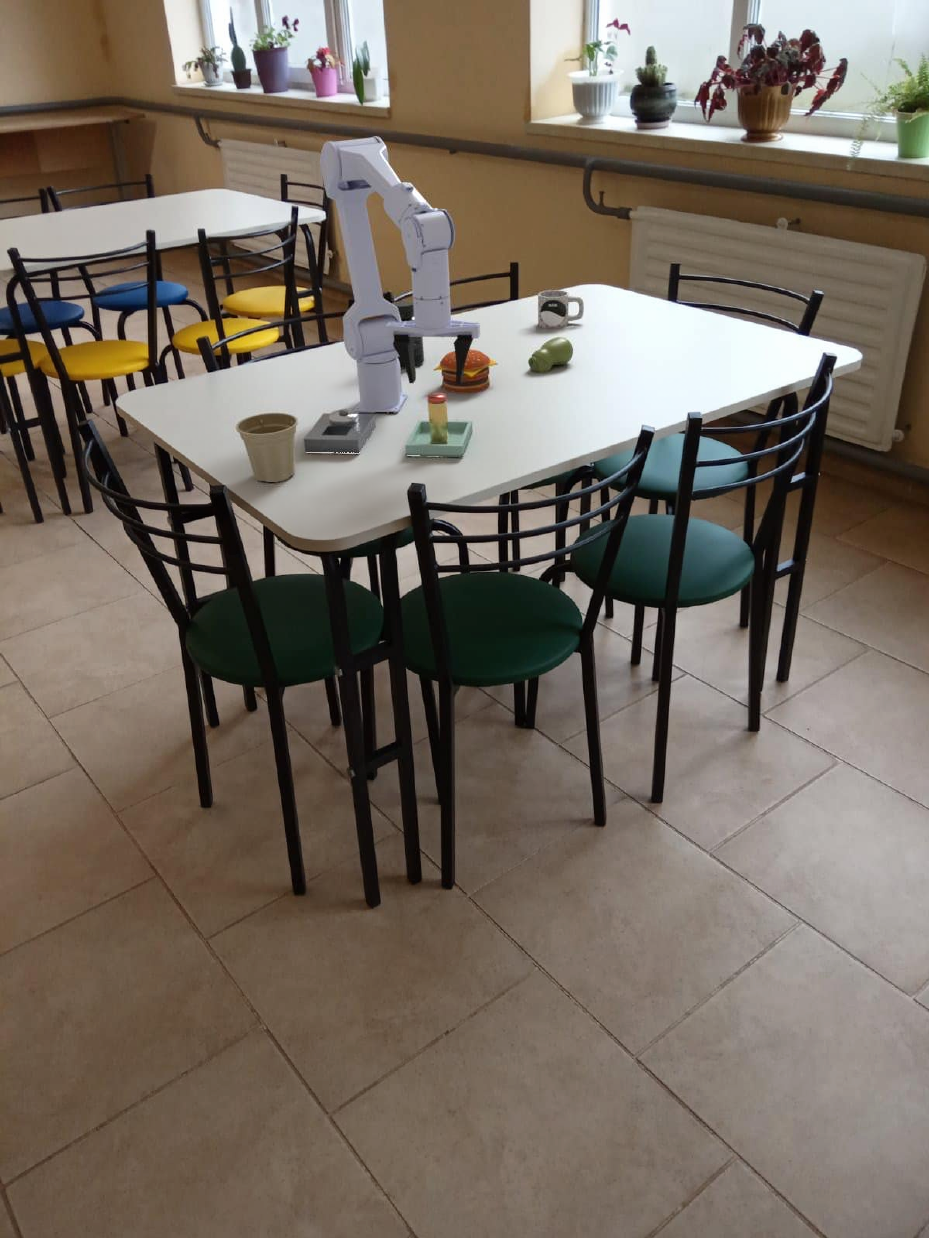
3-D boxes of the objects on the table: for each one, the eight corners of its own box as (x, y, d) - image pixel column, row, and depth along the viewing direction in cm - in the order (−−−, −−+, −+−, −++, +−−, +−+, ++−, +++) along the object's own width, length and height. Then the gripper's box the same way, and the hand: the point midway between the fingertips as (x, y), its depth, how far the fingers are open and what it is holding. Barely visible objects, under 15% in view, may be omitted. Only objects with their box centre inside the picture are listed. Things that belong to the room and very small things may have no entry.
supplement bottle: (426, 358, 210) (422, 298, 204) (421, 368, 205) (418, 307, 198) (393, 358, 211) (388, 299, 205) (387, 369, 205) (382, 308, 199)
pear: (577, 336, 200) (540, 356, 196) (580, 361, 203) (543, 381, 199) (557, 330, 204) (520, 350, 199) (560, 355, 207) (524, 375, 203)
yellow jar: (432, 438, 171) (429, 392, 167) (450, 438, 170) (447, 392, 166) (429, 445, 168) (425, 399, 164) (447, 445, 168) (444, 399, 164)
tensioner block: (324, 427, 179) (322, 404, 176) (375, 428, 177) (373, 405, 175) (305, 453, 168) (302, 429, 166) (359, 454, 167) (356, 430, 165)
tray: (419, 431, 175) (418, 420, 174) (472, 432, 174) (472, 421, 173) (406, 457, 165) (405, 445, 164) (462, 458, 164) (462, 446, 163)
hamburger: (458, 375, 200) (456, 341, 197) (500, 382, 196) (499, 348, 192) (430, 389, 194) (428, 354, 190) (473, 397, 189) (472, 361, 186)
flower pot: (232, 477, 161) (223, 424, 157) (281, 459, 167) (274, 408, 162) (267, 493, 156) (259, 439, 151) (316, 474, 161) (310, 421, 157)
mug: (538, 329, 226) (538, 298, 222) (537, 320, 231) (537, 290, 228) (584, 327, 225) (585, 296, 222) (582, 319, 231) (583, 289, 227)
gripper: (379, 302, 156) (386, 389, 163) (474, 302, 153) (477, 390, 161) (389, 290, 162) (395, 375, 169) (480, 290, 159) (483, 376, 167)
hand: (436, 381), depth 165 cm, fingers open, 7 cm apart
